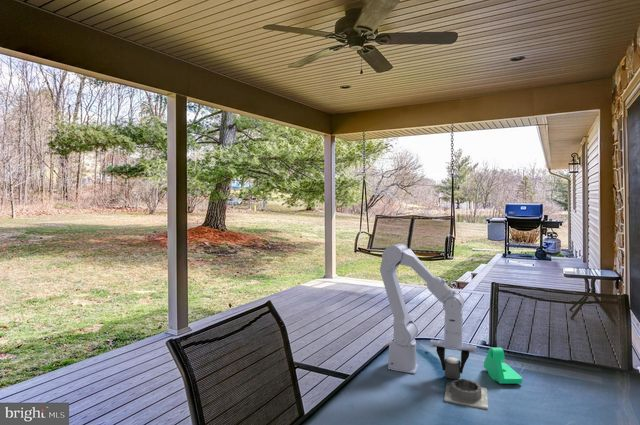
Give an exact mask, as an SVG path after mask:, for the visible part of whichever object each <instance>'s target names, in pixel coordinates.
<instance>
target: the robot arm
mask: <svg viewBox="0 0 640 425" xmlns="http://www.w3.org/2000/svg"><path fill="white" fill-rule="evenodd" d="M399 266H406V267H410V268H411V269H412V270H413V271H414V272H415V273H416V274H417V275H418V276H419V277H420V278H421V279H422V280H423V281H424V282H425V283H426V287H427V290H428V291H429V292H431V294H432V295H433V296H434V297H435V298H436V299H437V300H438V301H439V302H440V303H441V304H442V308H443V310H444V311H445V312H444V327H443V328H444V331H443V332H444V333H443V334H444V335H443V339H430V342H429V344H430V345H429V347H430V348H436V349H435V350H436V353H437V356H438V359H439V360H440V364H441V370H442V371H445V359H446V355H445V354H446V349H447V350H451V351H460V362H461V365H460V374H463V371H464V367H465V364H466V363H467V360H468V359H469V357H470V353H472V354H475V355H476V354H477V345H473V344H468V343H464V342H463V329H464V328H463V324H464V323H463V322H464V321H463V320H464V319H463V310H462V309H463V308H464V306H465V300H464V298H463V296H462V295H461V294H460V293H458V292H457V291H456V290H453V289H452V288H451V286H449V285H448V284H447V283H446V282H447V280H446V279H445V278H441V276H435V275H433V273H432V272H431V271H430V270H429V269H428V268H427V267H426V265H424V263H423V262H422V261H421V260H420V259H419V257H418V256H417V255H416V254H415V252H413V250H412V249H411V248H409V247H408V245H406V243H402V242H398V243H396V244H395V243H394V244H393V245H389V246H387V247H386V248H385V249H384V251H383V253H382V254H381V263H380V267H379V272H380V275H381V278H382V282H383V285H384V289H385V292H386V295H387V300H388V302H389V306H390V309H391V313H392V316H393V323H392V327H393V339H394V340H391V341H389V346H388V367H387V369H388V370H390V369H391V371H397V372H402V373H409V374H413V375H415V374H417V370H418V367H419V363H417V341H416V338H415V337H417V335H418V332H419V330H418V329H419V327H418V326H417V324H416V323H415V322H414V320H413V318H412V316H411V315H410V314H409V311H408V309H407V306H406V303H405V298H404V295H403V292H402V289H401V285H400V282H399V279H398V275H397V273H396V272H397V270H398V267H399Z"/></svg>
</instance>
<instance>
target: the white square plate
mask: <svg viewBox="0 0 640 425" xmlns="http://www.w3.org/2000/svg"><path fill="white" fill-rule="evenodd" d="M488 400H489V399H488V388H487V387H482V386H481V385H480V383H478V382H475V381H474V380H471V379H466V378H459V379H453V380H452V381H446V384H445V393H444V398H443V401H444V402H447V403H451V404H457V405H462V406H467V407H472V408H477V409H478V408H479V409H481V410H482V409H483V410H489V401H488Z"/></svg>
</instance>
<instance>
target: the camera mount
mask: <svg viewBox="0 0 640 425" xmlns="http://www.w3.org/2000/svg"><path fill="white" fill-rule="evenodd" d="M504 361H505V352H504V350H503V348H502V347H489V348H488V351H487V354H486V356H485V359H484V362H483V368H484V370H486V371H487V372H488V376H489V377H490V378H491V379H492V380H493V381H494V382H498V384H523V377H522V376H521V375H520V374H519V373H518V372H516V371H515V370H514V369H513V368H512V367H511V366H509V364H507V363H505V362H504Z"/></svg>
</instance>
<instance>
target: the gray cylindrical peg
mask: <svg viewBox="0 0 640 425" xmlns="http://www.w3.org/2000/svg"><path fill="white" fill-rule="evenodd" d="M460 367H461V359H459V358H456V357H451V356H449V357H445V370H444V377H446V378H448V379H452V380H456V379H461V373H460Z"/></svg>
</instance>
